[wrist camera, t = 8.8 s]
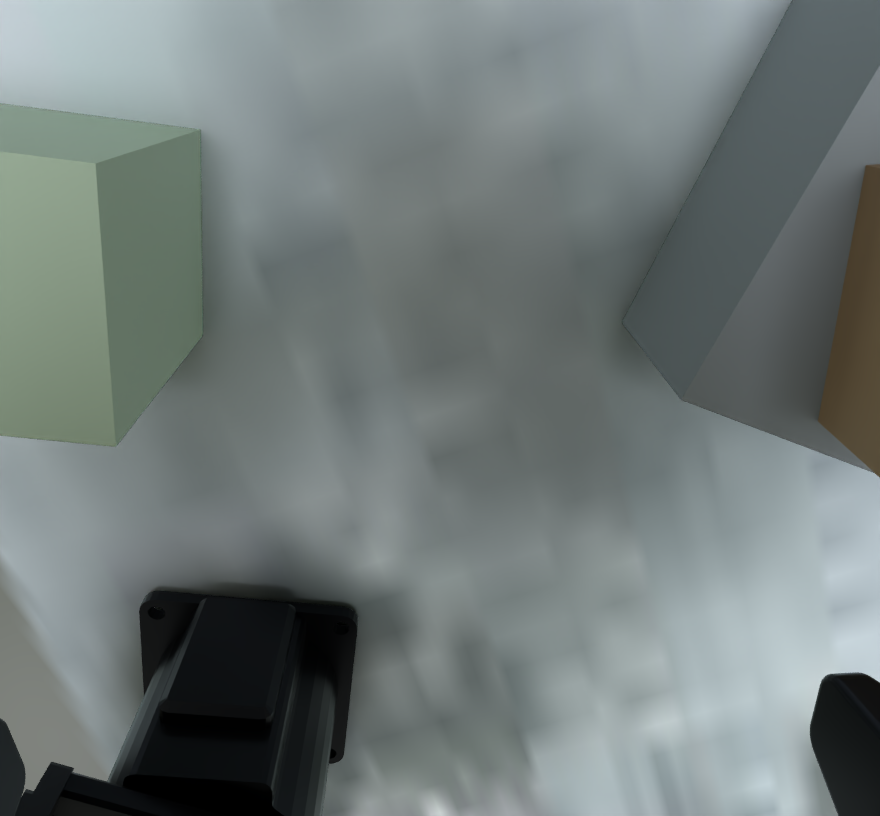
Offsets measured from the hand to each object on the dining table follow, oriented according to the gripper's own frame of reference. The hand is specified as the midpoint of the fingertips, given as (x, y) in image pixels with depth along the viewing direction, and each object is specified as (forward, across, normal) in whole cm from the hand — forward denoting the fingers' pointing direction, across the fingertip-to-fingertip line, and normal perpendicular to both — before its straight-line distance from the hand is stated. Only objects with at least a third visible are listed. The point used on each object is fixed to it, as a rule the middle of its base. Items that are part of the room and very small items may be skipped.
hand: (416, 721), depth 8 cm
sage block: (+12, +8, -3) cm, 15 cm away
